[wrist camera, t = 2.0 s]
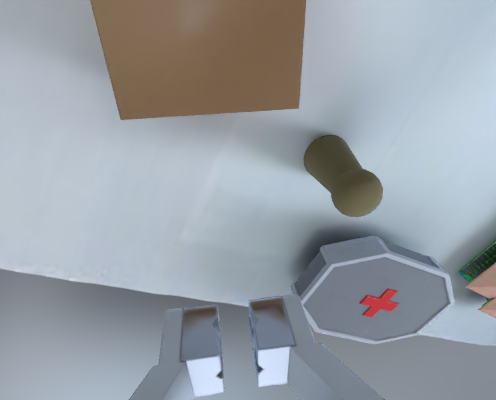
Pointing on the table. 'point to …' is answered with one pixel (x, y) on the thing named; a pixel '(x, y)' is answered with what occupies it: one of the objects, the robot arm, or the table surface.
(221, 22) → the carton
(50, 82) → the table surface
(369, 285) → the first aid kit
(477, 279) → the house
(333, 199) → the cork
